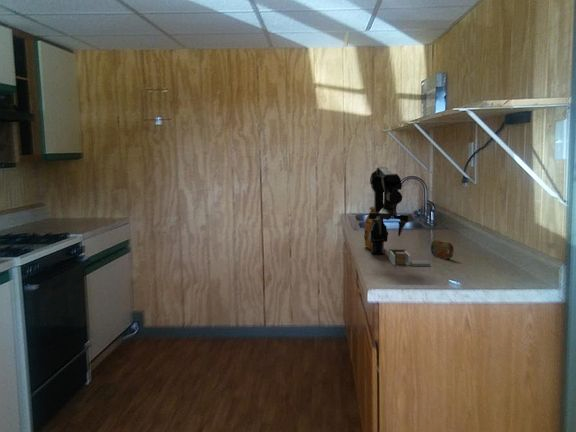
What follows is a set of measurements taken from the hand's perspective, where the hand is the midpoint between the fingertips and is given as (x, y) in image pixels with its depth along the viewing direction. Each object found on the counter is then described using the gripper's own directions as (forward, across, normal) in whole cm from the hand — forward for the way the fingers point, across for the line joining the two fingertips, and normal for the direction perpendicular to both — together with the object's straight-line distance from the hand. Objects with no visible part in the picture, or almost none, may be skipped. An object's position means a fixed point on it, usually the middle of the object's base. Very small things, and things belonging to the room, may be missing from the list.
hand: (389, 235), depth 255 cm
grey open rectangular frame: (+13, +3, +6) cm, 15 cm away
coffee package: (+14, -20, +33) cm, 41 cm away
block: (+13, +4, +4) cm, 15 cm away
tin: (+14, +18, +26) cm, 34 cm away
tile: (+13, +13, +6) cm, 19 cm away
